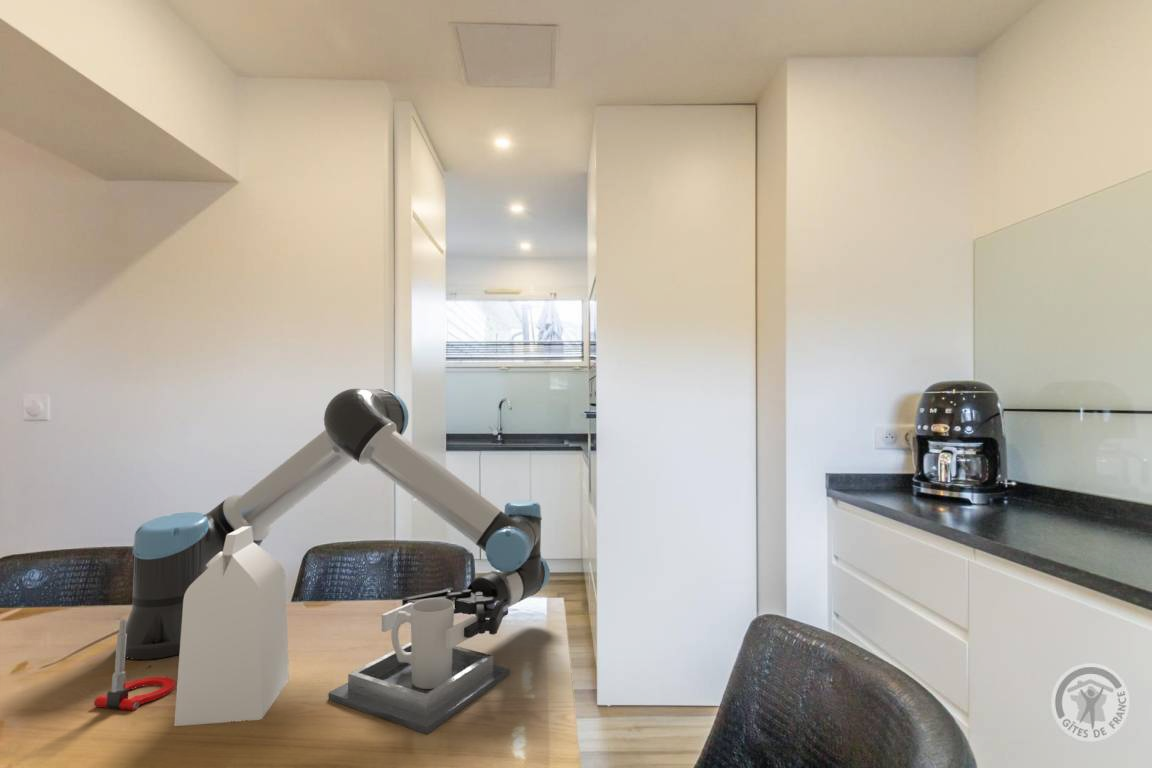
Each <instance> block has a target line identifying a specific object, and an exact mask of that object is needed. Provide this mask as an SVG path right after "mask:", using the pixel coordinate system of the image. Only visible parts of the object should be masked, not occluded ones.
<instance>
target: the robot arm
mask: <svg viewBox="0 0 1152 768" xmlns="http://www.w3.org/2000/svg"><path fill="white" fill-rule="evenodd" d="M323 422H324V423H323V425H324V428H325V429H324V430H322V432H321V433H319V434H318V435H316V436H315V437H314V438H313V439H312V440H311V441H309V442H308V443H307V444H305V445H304V446H303V447H302V448H300V449H299V450H298V451H297V452H295V453H294V454H292V456H290V457H289V458H287V460H285V461H284V462H283V463H282V464H280V465H279V466H278V467H276V468H275V469H274V470H272V471H271V472H270V473H268V475H266V476H265V477H264V478H262V479H261V480H260V481H259V482H258V483H256V484H255V485H254V486H253V487H251V488H250V489H249V490H247V491H246V492H245V493H243V494H241V495H240V494H233V495H230V496H228V497H227V498H225V499H224V500H223V501H221V502H220V503H219V504H217V505H216V506H215V507H214V508H212V509H211V510H210V511H209V512H207V513H205V514H204V513H201V512H189V511H188V512H178V513H173V514H170V515H162V516H159V517H155V518H153V519H151V520H148V521H146V522H144V523H142V524H141V525H139V527H138V528H137V529H136V531H135V534H134V541H133V545H132V603H131V604H132V606H131V610H130V613H129V615H128V618H127V619H126V633H127V643H126V657H128V658H133V659H132V660H138V659H143V660H155V658H156V659H161V658H167V657H168V658H169V657H172V656H177V655H179V654H180V640H181V626H182V612H183V599H184V594H185V592H186V590H187V589H188V587H189V586H190V585H191V584H192V583H193V582H194V581H195V580H196V579H197V578H198V577H199V576H200V575H201V574H202V573H203V572H205V571H206V570H207V569H208V567H207V566H206V564H207V563H208V562H209V561H210V560H211V559H212V558H213V557H214V556H216V555H217V554H218V553H219V552H221V551H222V552H223V548H224V544H225V540H226V535H227V534H229V533H231V532H233V531H235V530H237V529H239V528H241V527H245V526H252V532H253V542H254V543H256V544H257V545H258V546H259V547H261V544H262V543H263V541H264V540H265V539H266V538H267V537H268V536H269V535H270V534H271V525H272V524H274V523H275V522H277V521H278V519H280V518H281V517H282V516H284V515H285V514H286V513H287V512H288V511H290V510H292V509H293V508H294V507H295V506H296V505H297V504H299V503H300V502H302V501H304V499H305V498H307V497H308V496H309V495H310V494H311V493H313V492H315V490H317V489H318V488H319V487H321V486H322V485H323V484H324V483H326V482H327V481H328V480H329V479H331V478H332V477H334V475H336V474H337V473H339V472H340V471H341V470H342V469H343V468H345V467H346V466H348V464H350V463H351V462H352V461H357V462H358V463H359V464H360V465H369V464H370V465H371V466H372V467H373V468H375V469H376V470H377V471H379V472H380V473H381V474H382V475H384V476H385V477H387V478H388V479H389V480H390V481H392V482H393V483H394V484H395V485H397V486H399V487H400V489H401V488H402V489H403V490H404V491H405V492H406V493H407V494H409V495H410V496H411V497H413V498H415V499H416V500H417V501H418V502H419V503H421V504H423V506H425V507H426V508H428V509H429V510H430V511H431V512H433V513H434V514H435V515H436V516H438V517H439V518H440V519H442V520H443V521H445V522H446V523H447V524H448V525H449V526H451V527H453V529H455V530H456V531H458V532H459V533H460V534H461V535H463V536H464V537H465V538H467V539H468V540H470V541H471V542H472V543H473V544H475V545H476V546H477V547H479V548H480V549H481V550H482V551H484V552H485V556H486V559H487V562H488V563H489V564H490V566H491V567H492V568H494V569H493V570H491V571H489V572H487V573H485V574H482V575H480V576H478V577H475V578H474V579H472V581H470V583H469V585H468V587H467V588H466V589H462V590H461V591H456V592H454V588H453V587H448V588H445V589H442V590H438V591H432V592H428V593H423V594H422V593H421V594H417V595H412V596H407V597H404V598H402V599H401V600H402V603H401V604H402V605H401V606H399V607H397V608H394V609H392V610H390V611H386V612H385V613H382V614H381V632H383V633H386V632H388V631H390V630H392V627H393V624H394V622H395V620H396V618H397V616H398V612H399V611H406V612H407V613H408V614H411V605H412V604H413V603H415V602H417V601H420V600H424V599H430V598H444V599H449V600H451V601H453V602H454V615H455V614H457V615H458V614H462V615H469V616H471V615H475V616H471V617H468V618H467V619H465V620H463V621H461V622H459V623H457V624H456V625H453V627H451V628H449V629H447V630H446V648H448V649H451V648H452V647H454V646H458V645H460V644H461V643H464V641H466V640H469V639H471V638H473V637H475V636H477V635H478V634H481V635H483V634H485V633H486V632H488V634H489V635H491V636H492V635H494V636H495V635H496V634H497V633H498V631H499V628H500V626H501V624H502V621H503V618H504V617H506V616H507V615H508V614H509V608H510V607H512V606H514V605H516V604H517V603H520V602H521V601H523V600H525V599H528V598H530V597H531V596H534V595H537V593H539V592H540V591H541V590H542V589H544V588H545V587H546V586H547V585H548V583H549V580H550V576H551V573H550V571H551V570H550V566H549V565H548V562H547V561H546V560H545V558H543V557H542V555H541V553H542V552H541V540H542V537H541V536H542V535H541V534H542V533H541V532H542V520H543V517H542V513H541V511H542V510H541V509H542V508H541V505H540V503H539V502H538V501H534V500H526V499H525V500H523V499H521V500H520V499H518V500H512V501H508V502H507V503H506V504H505V505H504V512H503V511H502V510H501V509H500V508H499V507H497V506H495V504H493V503H492V502H491V501H489V500H488V499H486V498H485V497H484V496H482V494H480V493H478V492H477V491H476V490H475V489H473V488H472V487H470V486H469V484H467V483H465V482H464V481H463V480H462V479H460V478H459V477H458V476H456V475H455V474H453V473H452V472H451V471H450V470H448V469H447V468H445V467H444V466H443V465H442V464H440V463H439V462H437V460H435V459H434V458H432V457H431V456H429V455H428V454H427V453H426V452H424V451H423V450H422V449H421V448H419V447H418V446H416V445H415V444H414V443H413V442H411V441H410V440H409V439H408V438H406V437H404V436H403V435H404V434H405V431H406V430H407V428H408V425H409V411H408V408H407V405H406V403H405V402H404V400H403V399H402V398H401V397H400V396H399V395H397V394H396V393H394V392H392V391H389V390H386V389H384V388H375V389H373V388H371V389H369V388H366V389H365V388H349V389H345V390H343V391H341V392H339V393H337V394H336V395H335V396H334V397H333V398H332V399H330V401H329V402H328V404H327V406H326V408H325V411H324V417H323ZM406 623H407V622H403V623H402V624H401V625H403V624H406ZM128 658H127V659H128Z"/></svg>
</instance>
